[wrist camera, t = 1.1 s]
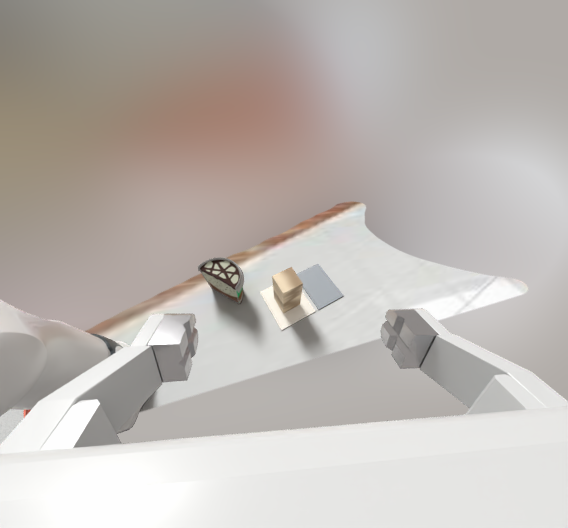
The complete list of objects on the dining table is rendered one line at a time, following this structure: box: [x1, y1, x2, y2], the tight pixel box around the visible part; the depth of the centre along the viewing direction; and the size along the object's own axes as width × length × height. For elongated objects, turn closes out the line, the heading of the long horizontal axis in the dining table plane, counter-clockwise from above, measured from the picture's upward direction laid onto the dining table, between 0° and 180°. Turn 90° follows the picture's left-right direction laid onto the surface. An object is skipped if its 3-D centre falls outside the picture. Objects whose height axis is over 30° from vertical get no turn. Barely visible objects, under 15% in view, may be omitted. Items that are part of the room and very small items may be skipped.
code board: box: [260, 264, 343, 330], centre depth 59 cm, size 19×12×1 cm, turn 119°
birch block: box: [272, 267, 303, 313], centre depth 53 cm, size 5×5×11 cm
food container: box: [198, 258, 244, 304], centre depth 57 cm, size 12×6×10 cm, turn 60°
